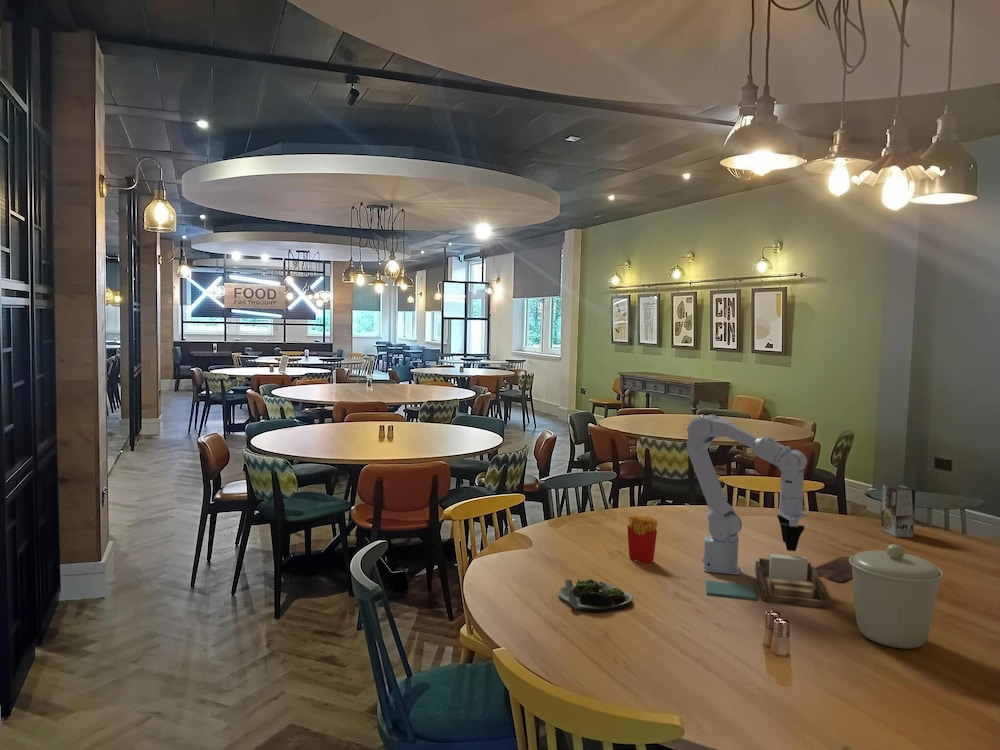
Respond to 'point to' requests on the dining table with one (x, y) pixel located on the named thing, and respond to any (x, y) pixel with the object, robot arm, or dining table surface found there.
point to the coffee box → (898, 510)
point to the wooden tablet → (836, 570)
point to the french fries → (642, 538)
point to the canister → (894, 596)
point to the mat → (730, 590)
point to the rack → (764, 568)
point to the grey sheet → (788, 567)
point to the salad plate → (594, 596)
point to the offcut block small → (793, 592)
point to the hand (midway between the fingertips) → (789, 546)
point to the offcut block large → (789, 584)
